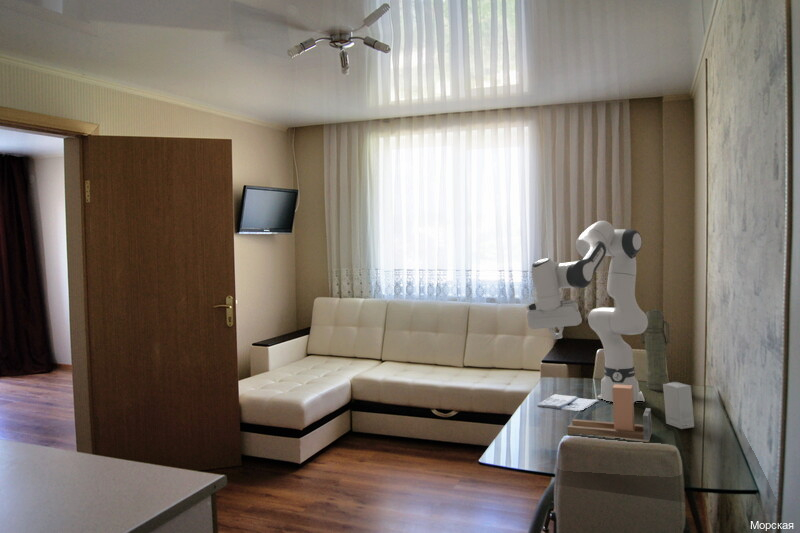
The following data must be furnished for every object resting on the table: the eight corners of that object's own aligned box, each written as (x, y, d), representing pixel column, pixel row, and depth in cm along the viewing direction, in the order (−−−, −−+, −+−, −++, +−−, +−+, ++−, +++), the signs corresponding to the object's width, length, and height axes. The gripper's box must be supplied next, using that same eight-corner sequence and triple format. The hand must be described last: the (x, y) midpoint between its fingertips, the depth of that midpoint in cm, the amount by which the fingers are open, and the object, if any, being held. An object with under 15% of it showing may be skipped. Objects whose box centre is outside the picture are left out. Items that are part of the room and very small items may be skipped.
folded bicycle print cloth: (555, 397, 263) (555, 392, 263) (600, 403, 250) (600, 397, 250) (536, 407, 248) (535, 402, 248) (582, 414, 235) (582, 408, 235)
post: (616, 429, 209) (614, 384, 209) (634, 431, 206) (632, 385, 206) (614, 433, 205) (612, 387, 204) (633, 435, 202) (630, 388, 201)
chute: (573, 426, 219) (572, 402, 218) (651, 433, 206) (650, 408, 206) (567, 434, 210) (566, 409, 210) (648, 441, 197) (647, 416, 197)
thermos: (671, 391, 260) (668, 311, 259) (642, 389, 265) (639, 311, 265) (672, 386, 268) (669, 309, 267) (644, 385, 273) (641, 309, 272)
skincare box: (694, 427, 209) (693, 385, 209) (679, 429, 208) (678, 387, 208) (678, 421, 217) (676, 380, 217) (664, 423, 216) (662, 382, 216)
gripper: (580, 297, 217) (588, 334, 217) (529, 303, 230) (537, 337, 231) (573, 301, 212) (581, 339, 213) (522, 307, 225) (530, 342, 226)
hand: (558, 338), depth 222 cm, fingers closed
